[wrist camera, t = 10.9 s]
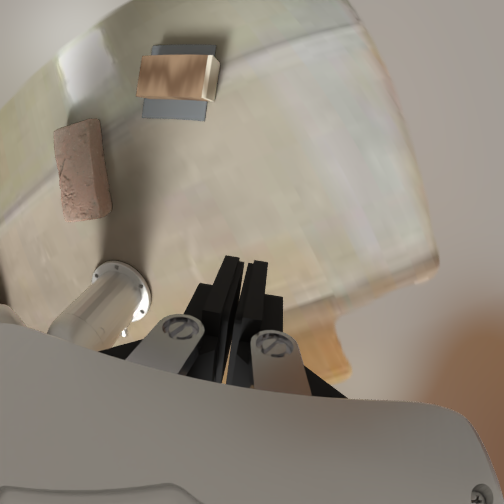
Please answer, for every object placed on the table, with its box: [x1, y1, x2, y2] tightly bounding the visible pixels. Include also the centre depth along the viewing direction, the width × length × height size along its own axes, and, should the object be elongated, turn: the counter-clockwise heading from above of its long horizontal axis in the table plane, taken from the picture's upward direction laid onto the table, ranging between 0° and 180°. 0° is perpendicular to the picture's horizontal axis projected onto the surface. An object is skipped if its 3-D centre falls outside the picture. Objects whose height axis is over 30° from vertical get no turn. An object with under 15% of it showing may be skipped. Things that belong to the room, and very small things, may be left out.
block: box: [136, 55, 220, 102], centre depth 35 cm, size 6×5×10 cm
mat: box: [142, 45, 216, 121], centre depth 38 cm, size 12×10×1 cm
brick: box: [54, 119, 112, 222], centre depth 42 cm, size 17×8×5 cm, turn 5°
